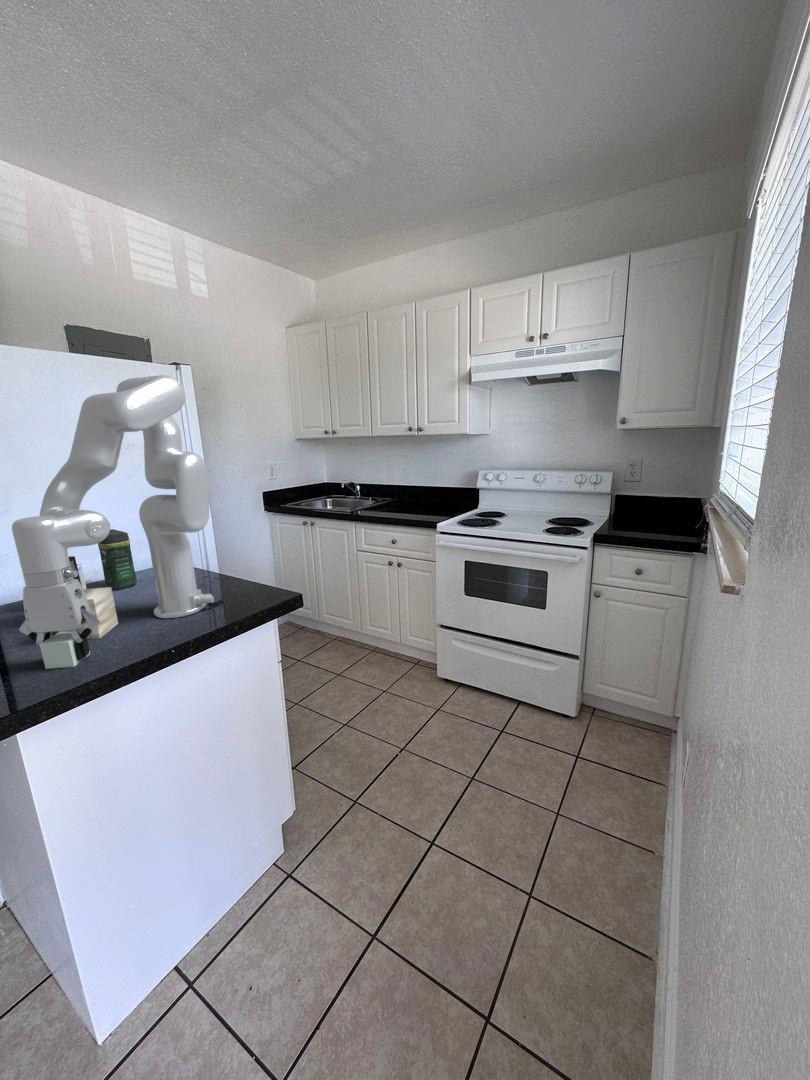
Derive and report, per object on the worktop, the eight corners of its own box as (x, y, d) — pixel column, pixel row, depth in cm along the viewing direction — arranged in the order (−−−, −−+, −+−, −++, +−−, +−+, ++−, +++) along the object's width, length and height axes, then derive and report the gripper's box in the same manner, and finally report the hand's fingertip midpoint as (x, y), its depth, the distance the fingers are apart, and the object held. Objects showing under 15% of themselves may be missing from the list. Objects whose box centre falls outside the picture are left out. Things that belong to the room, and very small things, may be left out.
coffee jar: (141, 585, 140) (131, 529, 136) (113, 592, 134) (102, 534, 130) (129, 579, 146) (119, 526, 142) (103, 586, 140) (91, 530, 136)
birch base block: (118, 623, 110) (114, 605, 109) (100, 638, 102) (96, 619, 101) (82, 626, 109) (78, 608, 108) (61, 642, 101) (56, 622, 100)
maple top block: (115, 605, 109) (111, 587, 108) (97, 619, 101) (93, 599, 100) (78, 608, 108) (74, 590, 106) (57, 622, 99) (52, 602, 98)
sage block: (90, 653, 94) (85, 630, 93) (74, 666, 89) (68, 642, 88) (63, 655, 94) (57, 632, 92) (45, 668, 88) (39, 644, 87)
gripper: (104, 569, 91) (120, 647, 96) (17, 574, 90) (36, 653, 94) (82, 580, 84) (100, 664, 88) (-13, 586, 82) (10, 671, 87)
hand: (67, 657), depth 91 cm, fingers closed on sage block, 5 cm apart
